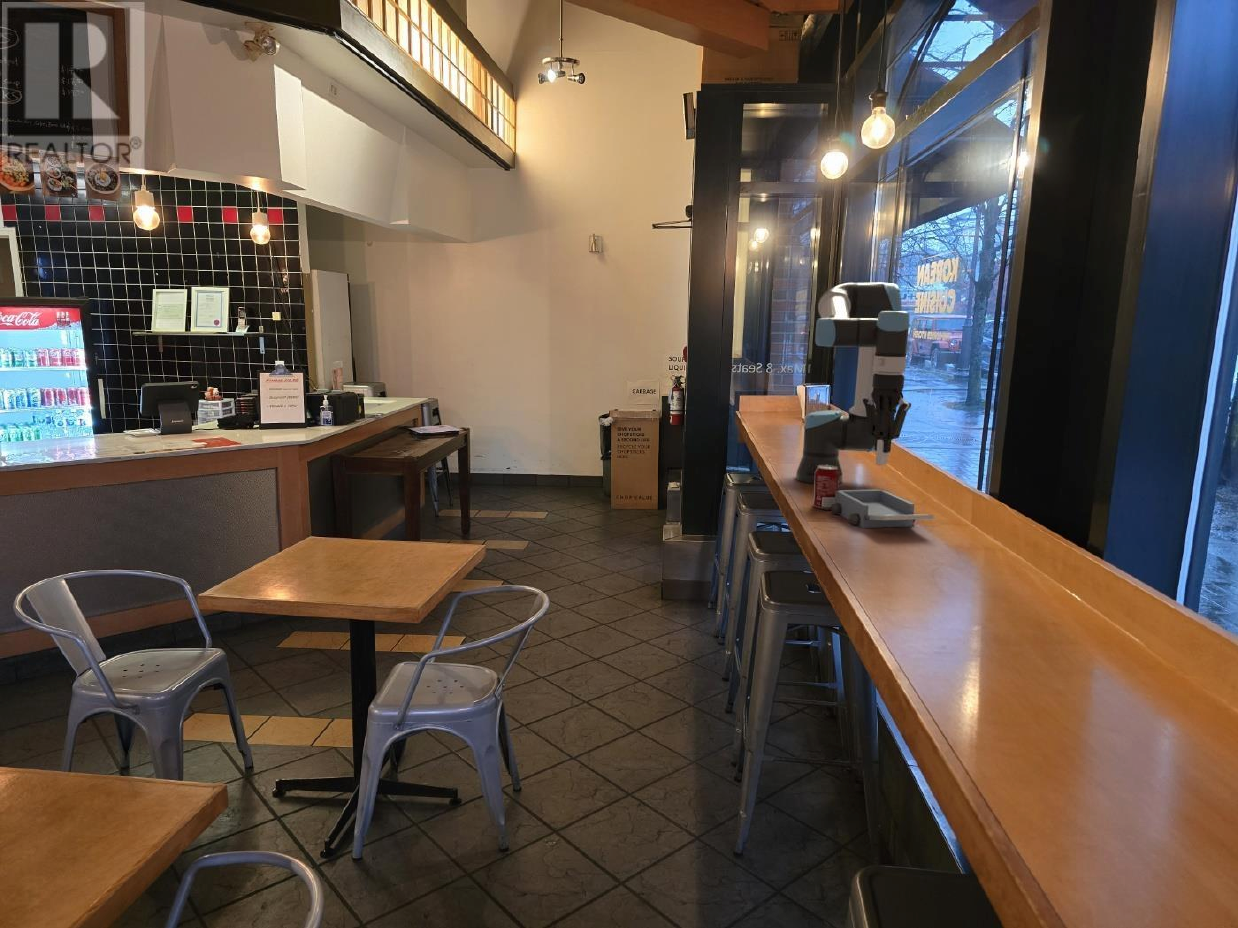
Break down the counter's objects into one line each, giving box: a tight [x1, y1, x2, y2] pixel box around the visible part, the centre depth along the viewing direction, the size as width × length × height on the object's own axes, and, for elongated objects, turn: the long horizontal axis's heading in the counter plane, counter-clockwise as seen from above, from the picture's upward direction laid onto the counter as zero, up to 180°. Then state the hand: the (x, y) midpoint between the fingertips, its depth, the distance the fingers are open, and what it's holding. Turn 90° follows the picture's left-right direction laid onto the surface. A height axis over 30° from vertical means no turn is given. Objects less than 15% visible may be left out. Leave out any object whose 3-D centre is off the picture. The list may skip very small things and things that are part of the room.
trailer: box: [830, 488, 916, 529], centre depth 201 cm, size 17×17×6 cm
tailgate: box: [865, 513, 935, 520], centre depth 188 cm, size 1×14×10 cm
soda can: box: [812, 465, 840, 511], centre depth 211 cm, size 7×7×12 cm
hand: (881, 464), depth 192 cm, fingers closed
